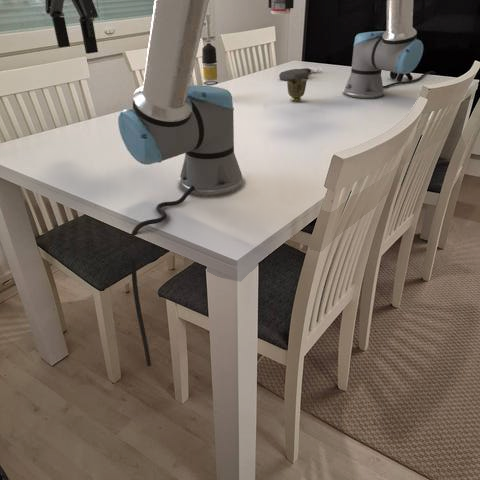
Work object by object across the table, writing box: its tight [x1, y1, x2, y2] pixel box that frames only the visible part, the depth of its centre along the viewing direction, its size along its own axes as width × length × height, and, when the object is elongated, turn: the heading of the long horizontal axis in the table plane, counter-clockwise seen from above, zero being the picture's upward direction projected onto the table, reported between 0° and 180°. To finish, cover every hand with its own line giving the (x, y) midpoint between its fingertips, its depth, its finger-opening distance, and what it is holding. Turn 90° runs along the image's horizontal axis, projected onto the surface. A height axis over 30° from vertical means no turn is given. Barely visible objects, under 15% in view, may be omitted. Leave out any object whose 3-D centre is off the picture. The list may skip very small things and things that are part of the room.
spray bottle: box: [278, 66, 323, 81], centre depth 210 cm, size 3×11×25 cm
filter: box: [201, 14, 219, 86], centre depth 171 cm, size 6×6×30 cm
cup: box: [286, 78, 308, 103], centre depth 171 cm, size 8×7×8 cm
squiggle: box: [389, 71, 414, 82], centre depth 198 cm, size 11×10×15 cm
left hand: (77, 49), depth 106 cm, fingers open, 13 cm apart
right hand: (280, 7), depth 125 cm, fingers closed on pill bottle, 5 cm apart
